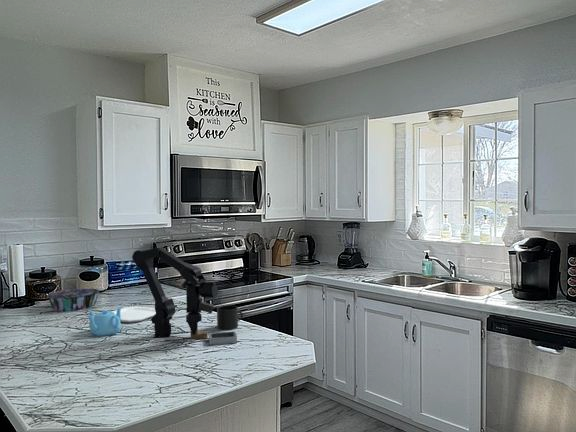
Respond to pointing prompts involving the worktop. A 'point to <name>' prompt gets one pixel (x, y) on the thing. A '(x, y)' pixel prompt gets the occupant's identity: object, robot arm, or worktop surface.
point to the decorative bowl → (73, 299)
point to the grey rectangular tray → (222, 338)
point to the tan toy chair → (199, 334)
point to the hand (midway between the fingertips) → (194, 333)
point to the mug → (228, 317)
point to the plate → (135, 314)
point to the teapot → (105, 322)
